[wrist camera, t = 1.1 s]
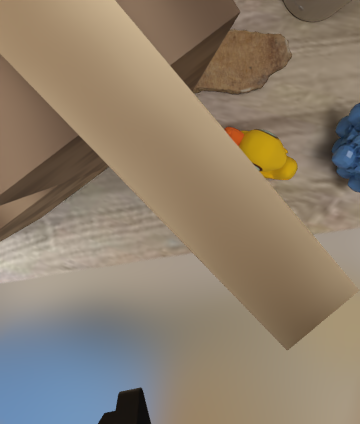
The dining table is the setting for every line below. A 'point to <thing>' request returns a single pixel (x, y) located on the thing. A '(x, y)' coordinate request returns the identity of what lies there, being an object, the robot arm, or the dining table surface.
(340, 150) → the grapes
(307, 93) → the dining table surface
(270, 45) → the pottery shard
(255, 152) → the duckling
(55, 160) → the stepped stand
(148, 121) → the mallet
